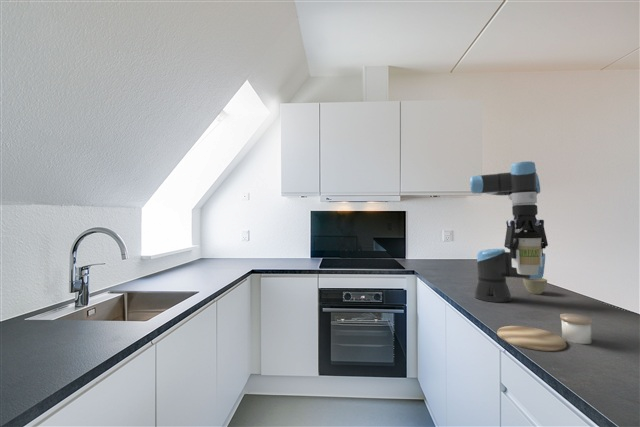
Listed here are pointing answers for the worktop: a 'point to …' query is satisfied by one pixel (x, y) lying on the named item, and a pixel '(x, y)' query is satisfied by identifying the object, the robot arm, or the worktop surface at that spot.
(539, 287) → the flower pot
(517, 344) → the round wooden board
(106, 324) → the worktop surface
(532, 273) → the coffee cup
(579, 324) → the sugar jar
